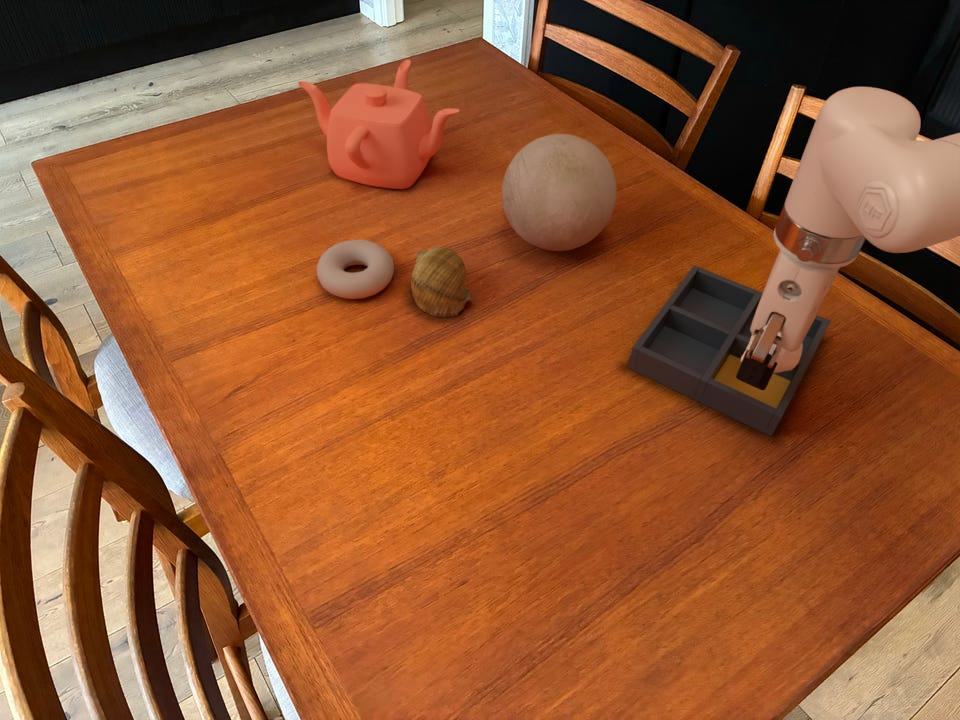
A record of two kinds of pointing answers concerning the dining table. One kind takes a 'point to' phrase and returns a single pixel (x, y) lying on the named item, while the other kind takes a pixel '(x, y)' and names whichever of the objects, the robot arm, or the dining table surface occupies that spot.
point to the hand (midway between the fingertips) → (763, 360)
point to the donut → (357, 282)
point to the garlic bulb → (782, 356)
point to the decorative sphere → (559, 192)
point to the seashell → (439, 282)
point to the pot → (379, 132)
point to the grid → (717, 350)
